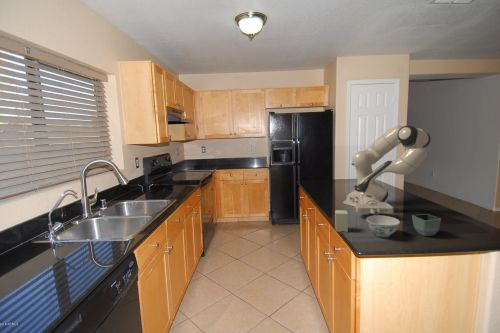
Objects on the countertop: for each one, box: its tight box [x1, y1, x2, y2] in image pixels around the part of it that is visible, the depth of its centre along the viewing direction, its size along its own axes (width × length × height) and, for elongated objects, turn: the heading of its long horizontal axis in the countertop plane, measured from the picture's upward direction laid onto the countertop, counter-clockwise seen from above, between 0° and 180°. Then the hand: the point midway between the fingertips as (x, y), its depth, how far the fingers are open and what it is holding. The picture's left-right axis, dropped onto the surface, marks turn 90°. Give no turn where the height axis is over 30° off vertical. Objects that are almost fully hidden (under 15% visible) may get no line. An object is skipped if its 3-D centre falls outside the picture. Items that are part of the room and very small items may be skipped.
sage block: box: [334, 209, 349, 233], centre depth 138 cm, size 6×6×10 cm
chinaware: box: [365, 214, 401, 238], centre depth 129 cm, size 15×15×8 cm
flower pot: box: [411, 213, 442, 237], centre depth 127 cm, size 9×9×9 cm
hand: (376, 212), depth 145 cm, fingers closed
